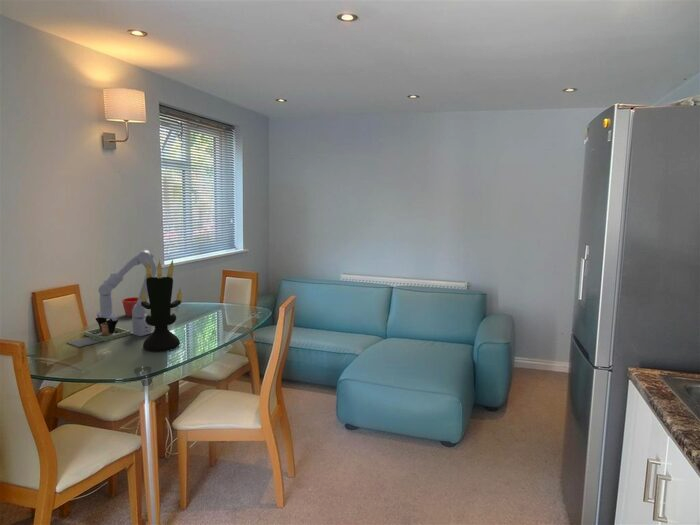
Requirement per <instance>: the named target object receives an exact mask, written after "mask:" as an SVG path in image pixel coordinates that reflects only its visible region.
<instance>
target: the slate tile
mask: <svg viewBox="0 0 700 525" xmlns="http://www.w3.org/2000/svg"><path fill="white" fill-rule="evenodd" d="M98 342H100V343H102V341H100V340H97V339H94V338H91V337H87V336H86V337H83V338H79V339H74V340H70V341H67V342H66V344H67V343H68V344H67V345H70V344H71V345H70V346H73V347H76V348H79V349H80V348H84V347H87V345H88V346H91V344H92V345H95V343H96V344H99V343H98ZM83 346H84V347H83Z"/></svg>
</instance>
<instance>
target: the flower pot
mask: <svg viewBox="0 0 700 525" xmlns="http://www.w3.org/2000/svg"><path fill="white" fill-rule="evenodd" d="M138 298H139V297H138V296H137V297H135V296H134V297H126V298H123V299H122V304H123V310H124V313H125V316H126V315H127V316H126V317H129V316H133V314H132V310H133V308H134V305H135V304H136V303H137V301H138Z"/></svg>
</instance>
